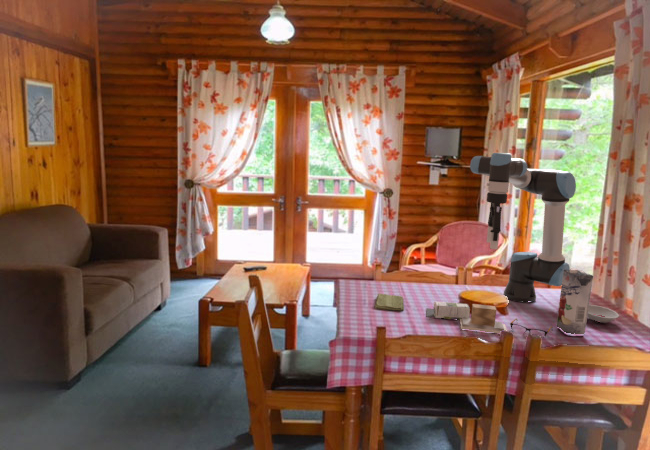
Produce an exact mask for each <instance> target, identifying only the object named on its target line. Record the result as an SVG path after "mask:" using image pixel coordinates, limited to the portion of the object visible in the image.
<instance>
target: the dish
mask: <svg viewBox="0 0 650 450" xmlns="http://www.w3.org/2000/svg"><path fill="white" fill-rule="evenodd" d="M593 314H596V315H593ZM597 315H602V316H605V317H601V316H597ZM619 317H620V315H619V313H618V312H617V311H615V310H613V309H610V308H608V307H605V306H600V305H595V304H589V309H588V316H587V319H590V320H591V321H594V320H595V322H596V321H600V323H611V322H612V321H615V319H618V318H619Z"/></svg>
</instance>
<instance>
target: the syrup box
mask: <svg viewBox="0 0 650 450" xmlns="http://www.w3.org/2000/svg"><path fill="white" fill-rule="evenodd" d="M432 309H433V314H434V316H435V318H436V319H441V318H445V319H444V320H450V319H457V320H456V321H459V320H460V319H462V318H469V319H470V315H471V314H470V313H471V312H470V311H471V307H470V306H469V304H468V303H460V302H459V303H457V302H447V301H434V303H433V308H432ZM435 318H434V319H435Z"/></svg>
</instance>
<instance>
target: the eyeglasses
mask: <svg viewBox="0 0 650 450" xmlns="http://www.w3.org/2000/svg"><path fill="white" fill-rule="evenodd" d="M515 321H518V318H517V317H515V318H514V319H513V320H512V321H511V322H510V323H509V325H510V329H512V330H513V326H514V325H515V326H518V327H521V328H524V329H525V331H524V333H525V332H527V331H528V332H529V333H531V331H532V330H536V331H540V332H544V336H545V337H547V335H548V333H549V332H550V330H552V328H553V326H552V325H551V326H550V327H549V328H548V330H543V329H538V328H529V327H525V326H523V325H520V324H518V323H514V322H515Z"/></svg>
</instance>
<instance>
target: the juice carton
mask: <svg viewBox="0 0 650 450" xmlns="http://www.w3.org/2000/svg"><path fill="white" fill-rule="evenodd" d="M593 279H594V275H592V274H589V273H587V272H585V271H583V270H582V269H577V268H574V267H572V268H571V267H570V270H564V272H563V280H562V285H561V286H560V288H561V289H560V295H559V302H558V311H557V318H556V328H557V327H559V328H561V329H562V330H563V331H564V332H566V333H571V334H574V333H575V334H584V333H586V327H587V320H588V317H587V316H588V309H589V305H590V301H591V294H592V286H593ZM584 335H585V334H584Z"/></svg>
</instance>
